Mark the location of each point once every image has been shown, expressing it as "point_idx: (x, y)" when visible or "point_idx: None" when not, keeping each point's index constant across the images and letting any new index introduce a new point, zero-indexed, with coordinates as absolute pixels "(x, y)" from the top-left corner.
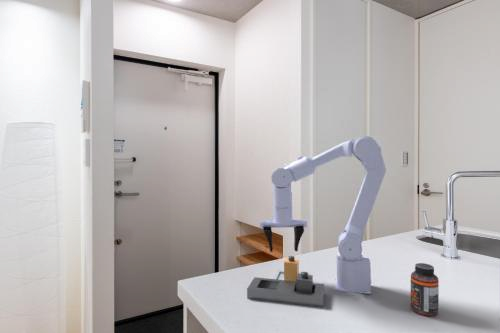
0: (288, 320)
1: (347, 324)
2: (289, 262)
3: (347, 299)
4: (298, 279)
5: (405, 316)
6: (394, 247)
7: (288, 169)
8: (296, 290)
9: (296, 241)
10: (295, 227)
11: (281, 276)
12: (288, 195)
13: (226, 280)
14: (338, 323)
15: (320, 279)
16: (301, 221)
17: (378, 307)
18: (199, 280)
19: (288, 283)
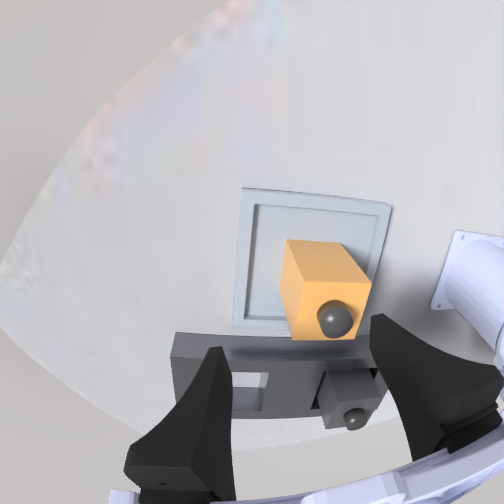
0: (289, 431)
1: (389, 413)
2: (319, 336)
3: (433, 339)
4: (331, 427)
5: (481, 362)
6: None
7: None
8: (319, 404)
9: (396, 398)
10: (443, 439)
11: (264, 238)
12: None
13: (67, 293)
14: (376, 416)
15: (414, 227)
16: (485, 481)
17: (466, 350)
18: (9, 301)
19: (299, 377)
